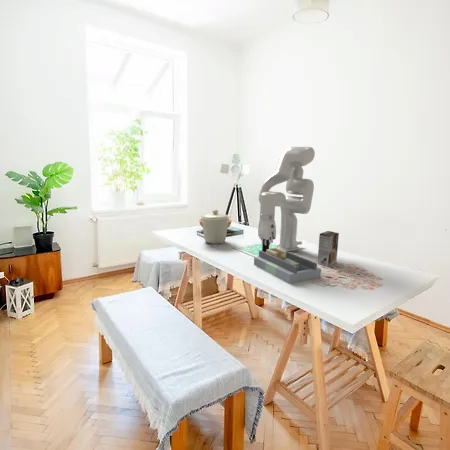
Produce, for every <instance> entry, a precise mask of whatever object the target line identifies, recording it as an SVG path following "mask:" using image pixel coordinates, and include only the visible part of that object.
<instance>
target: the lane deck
mask: <svg viewBox="0 0 450 450" xmlns="http://www.w3.org/2000/svg"><path fill="white" fill-rule="evenodd" d="M279 249H280V248H279ZM282 250H283V249H282ZM284 251H285V250H284ZM253 265H254V266H256V267H258V268H259V269H262V270H263V271H264V272H267V273H268V274H271V275H272V276H274V277H277V278H278V279H280V280H282V281H284V282H286V283H288V284H293V283H294V284H295V283H298V282H303V281H308V280H312V279H318V278H321V276H322V275H321V273H322V268H320V267H318V263H317V262H315V261H313V260H310V259H307V258H304V257H303V256H300V255H297V254H295V253H292V252H291V251H286V259H284V260H281V259H279V258H277V257H275V256H272V255H270V254H268V253H266V252H263V251H262V250H259V251H258V256H254V257H253Z"/></svg>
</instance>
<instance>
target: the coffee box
mask: <svg viewBox="0 0 450 450" xmlns="http://www.w3.org/2000/svg"><path fill="white" fill-rule="evenodd" d="M318 238H319V240H318V252H317V262H316V263H317V265H318V264H319V265H322V266H326V267H330V266H332V265H335V264H336V263H337V259H338V248H339V232H334V231H330V230H327V231H324V232H321V233H319V237H318Z"/></svg>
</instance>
